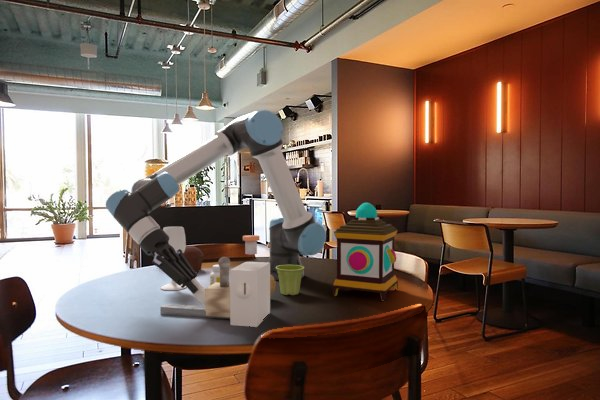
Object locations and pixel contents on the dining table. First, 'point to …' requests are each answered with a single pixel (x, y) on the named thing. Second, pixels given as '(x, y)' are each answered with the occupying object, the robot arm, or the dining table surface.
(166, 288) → the wineglass
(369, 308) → the dining table surface
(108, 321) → the dining table surface
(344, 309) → the dining table surface
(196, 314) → the rail track
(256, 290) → the end cabinet
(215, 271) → the supplement bottle
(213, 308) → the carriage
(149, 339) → the dining table surface
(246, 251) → the orange mushroom
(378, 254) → the decorative lantern
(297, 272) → the plant pot
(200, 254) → the muffin
